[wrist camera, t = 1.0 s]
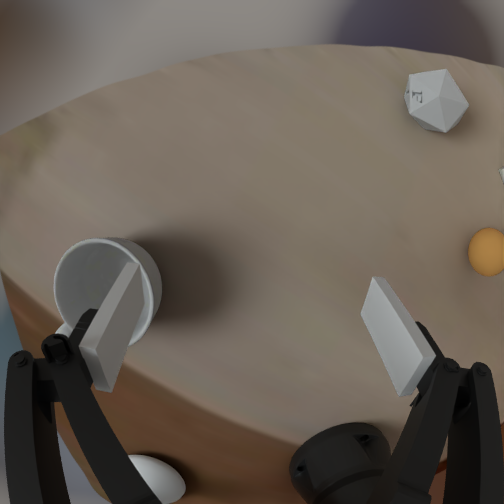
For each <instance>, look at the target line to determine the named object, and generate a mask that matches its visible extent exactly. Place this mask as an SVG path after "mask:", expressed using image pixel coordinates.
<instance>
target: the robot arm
mask: <svg viewBox="0 0 504 504" xmlns="http://www.w3.org/2000/svg"><path fill="white" fill-rule="evenodd" d="M144 305H145V301H144V294H143V286H142V277H141V268H140V263H128V262H127V264H126V265H125V267H124V268H123V270H122V271H121V273H120V275H119V276H118V278H117V280H116V281H115V283H114V285H113V286H112V288H111V290H110V291H109V293H108V295H107V296H106V298H105V300H104V301H103V303H102V305H101V307H100V308H99V309H92V308H90V309H88V310H87V311H86V312H85V313H83V314H82V316H81V317H80V319H79V321H78V323H77V324H76V326H75V329H73V331H72V333H71V334H70V336H69V338H68V337H67V336H66V335H64V334H59V333H57V334H52V335H50V336H48V337H47V338H46V339H44V340H43V342H42V345H41V349H42V352H43V354H44V356H45V358H39V359H34V358H33V356H32V354H31V353H30V352H28V351H24V350H21V351H18V352H16V353H14V354H13V355H12V356H11V357H10V359H9V362H8V369H7V379H6V391H5V412H4V442H5V443H4V444H5V462H6V474H7V484H8V491H9V498H10V504H71V503H70V499H69V495H68V491H67V486H66V482H65V477H64V472H63V467H62V462H61V456H60V450H59V443H58V437H57V428H56V419H55V409H54V402H61V403H62V405H63V408H64V410H65V413H66V415H67V418H68V420H69V422H70V425H71V427H72V429H73V432H74V434H75V436H76V438H77V440H78V442H79V445H80V447H81V449H82V451H83V453H84V455H85V457H86V459H87V461H88V463H89V464H90V466H91V468H92V470H93V472H94V474H95V476H96V477H97V479H98V481H99V483H100V484H101V486H102V488H103V489H104V491H105V493H106V494H107V496H108V498H109V499H110V501H111V502H112V504H162V503H161V501H160V500H159V499H158V497H157V496H156V495H155V494H154V492H153V491H152V490H151V488H150V487H149V486H148V484H147V483H146V482H145V480H144V479H143V477H142V476H141V474H140V473H139V472H138V470H137V469H136V467H135V466H134V464H133V463H132V461H131V460H130V458H129V457H128V455H127V453H126V452H125V450H124V449H123V447H122V445H121V444H120V442H119V441H118V439H117V437H116V436H115V434H114V432H113V430H112V429H111V427H110V425H109V423H108V422H107V420H106V418H105V416H104V414H103V412H102V410H101V409H100V407H99V405H98V403H97V401H96V399H95V397H94V395H93V393H92V391H91V389H90V388H91V385H92V383H94V385H95V388H96V389H97V390H101V391H106V392H111V393H112V390H113V387H114V384H115V381H116V378H117V375H118V373H119V370H120V367H121V364H122V362H123V359H124V356H125V353H126V351H127V348H128V345H129V343H130V340H131V338H132V335H133V332H134V330H135V327H136V325H137V322H138V320H139V317H140V315H141V312H142V310H143V308H144ZM361 316H362V318H363V320H364V322H365V324H366V327H367V329H368V331H369V333H370V335H371V337H372V339H373V341H374V343H375V345H376V347H377V350H378V352H379V354H380V356H381V358H382V360H383V362H384V365H385V367H386V369H387V371H388V374H389V376H390V378H391V380H392V383H393V385H394V387H395V389H396V392H397V394H398V396H399V397H400V396H406V395H411V394H412V393H413V391H414V390H415V388H416V387H417V388H418V390H419V393H418V395H417V396H416V398H415V399H414V400H413V402H412V403H411V404H410V406H412V405H413V407H412V409H411V412H410V414H409V417H408V419H407V422H406V424H405V427H404V429H403V431H402V434H401V436H400V438H399V441H398V443H397V445H396V447H395V449H394V452H393V454H392V456H391V452H390V446H389V444H388V441H387V440H386V438H385V437H384V435H383V434H382V432H381V431H380V430H379V429H377V428H376V427H374V426H372V425H369V424H364V423H349V424H343V425H339V426H335V427H332V428H329V429H327V430H325V431H322V432H320V433H318V434H317V435H315V436H313V437H312V438H310V439H309V440H308V441H306V442H305V443H304V444H303V445H302V446H301V447H300V448H299V449H298V450H297V451H296V452H295V454H294V455H293V457H292V459H291V462H290V466H289V471H290V476H291V481H292V484H293V486H294V488H295V489H296V490H297V492H298V493H299V494H300V495H301V496H302V498H303V499H304V500H305V501H306V502H307V504H430V502H431V495H429V494H428V492H429V489H430V486H431V483H432V481H433V478H434V475H435V473H436V470H437V467H438V464H439V461H440V458H441V455H442V452H443V448H444V445H445V442H446V438H447V434H448V453H447V469H446V481H445V490H444V498H443V504H504V462H503V446H502V435H501V426H500V418H499V411H498V405H497V399H496V393H495V388H494V382H493V378H492V373H491V370H490V369H489V367H488V366H487V365H485V364H484V363H481V362H476V363H474V364H473V366H472V367H471V368H470V369H466V368H460V366H459V364H458V363H457V362H456V361H454V360H453V359H450V358H445V357H444V355H443V354H442V352H441V350H440V349H439V347H438V346H437V344H436V343H435V341H433V338H432V337H431V335H430V333H429V332H428V330H427V329H426V327H424V326H423V325H422V324H421V323H420V322H415V321H414V320H413V318H412V317H411V315H410V314H409V312H408V311H407V309H406V308H405V307H404V305H403V304H402V302H401V301H400V299H399V298H398V296H397V295H396V293H395V292H394V291H393V289H392V288H391V286H390V285H389V283H388V282H387V281H386V279H385V278H384V277H373V278H372V281H371V284H370V287H369V290H368V293H367V296H366V299H365V302H364V305H363V308H362V311H361Z"/></svg>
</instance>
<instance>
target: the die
mask: <svg viewBox="0 0 504 504" xmlns="http://www.w3.org/2000/svg"><path fill="white" fill-rule="evenodd" d="M404 99H405V102H406V105H407V108H408V111H409V114H410V115H411V116H412V117H413V118H414V119H415V120H416V121H417V122H418V123H419V124H420V125H421V126H422V127H423V128H424V129H427V130H433V131H439V132H445V133H446V132H448V131H449V130H450V129H452V128H453V127H455V126H456V125H457V124H458V123H459V121H460V119H461V118H462V116H463V115H464V113H465V111H466V110H467V108H468V106H469V104H468V102H467V101H466V99H465V97H464V96H463V94H462V92H461V91H460V89H459V87H458V86H457V84H456V83H455V81H454V80H453V78H452V77H451V75H450V74H449V72H448V71H447V69H442V70H434V71H427V72H421V73H416V74H411V75H409V79H408V83H407V87H406V91H405V95H404Z"/></svg>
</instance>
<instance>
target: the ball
mask: <svg viewBox="0 0 504 504" xmlns="http://www.w3.org/2000/svg"><path fill="white" fill-rule="evenodd" d="M468 256H469V261H470V263H471V265H472V267H473V268H474V270H475V271H476V272H478V273H479V274H481V275H483V276H494V275H497V274H499V273H500V272H501V271H502V270H503V269H504V235H503V234H502V233H501V232H500V231H498V230H496V229H493V228H484V229H481V230H479V231H478V232H477V233H476V234H475V235H474V236H473V237H472V239H471V241H470V244H469V248H468Z"/></svg>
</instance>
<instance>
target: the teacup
mask: <svg viewBox="0 0 504 504" xmlns="http://www.w3.org/2000/svg"><path fill="white" fill-rule="evenodd" d="M127 262H128V263H140V268H141V277H142V286H143V294H144V301H145V305H144V308H143V310H142V312H141V315H140V317H139V320H138V322H137V325H136V327H135V330H134V332H133V335H132V338H131V340H130V343H129V345H128V347H129V346H131V345H133V344H135V343H136V342H137V341H139V340H140V339H141V338H142V337H143V335H144V334H145V333H146V331H147V330H148V328H149V326H150V324H151V321H152V320H153V318H154V316H155V314H156V312H157V310H158V308H159V305H160V302H161V297H162V281H161V276H160V272H159V270H158V267H157V265H156V263H155V261H154V260H153V258H152V257H151V256H150V255H149V253H148V252H147V251H146V250H144V249H143V248H142V247H141V246H139V245H138V244H136V243H134V242H132V241H129V240H126V239H123V238H90V239H86V240H82V241H81V242H78V243H76V244H75V245H73V246H72V247H71V248H70V249H68V250H67V251H66V252H65V254H64V255H63V256H62V259H61V260H60V262H59V264H58V267H57V269H56V272H55V277H54V295H55V301H56V304H57V307H58V310H59V312H60V314H61V316H62V318H63V320H64V322H65V323H64V324H63V325H62V326H61V327H60V328H59V329H58V330H57V331H56V334H57V333H59V334H64V335H66V336H67V337H68V338H69V336H70V334H71V333H72V331H73V329H75V326H76V324H77V323H78V321H79V319H80V317H81V316H82V314H83V313H85V312H86V311H87V310H88V309H90V308H92V309H99V308H100V307H101V305H102V303H103V301H104V300H105V298H106V296H107V295H108V293H109V291H110V290H111V288H112V286H113V285H114V283H115V281H116V280H117V278H118V276H119V275H120V273H121V271H122V270H123V268H124V267H125V265H126V264H127Z"/></svg>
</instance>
